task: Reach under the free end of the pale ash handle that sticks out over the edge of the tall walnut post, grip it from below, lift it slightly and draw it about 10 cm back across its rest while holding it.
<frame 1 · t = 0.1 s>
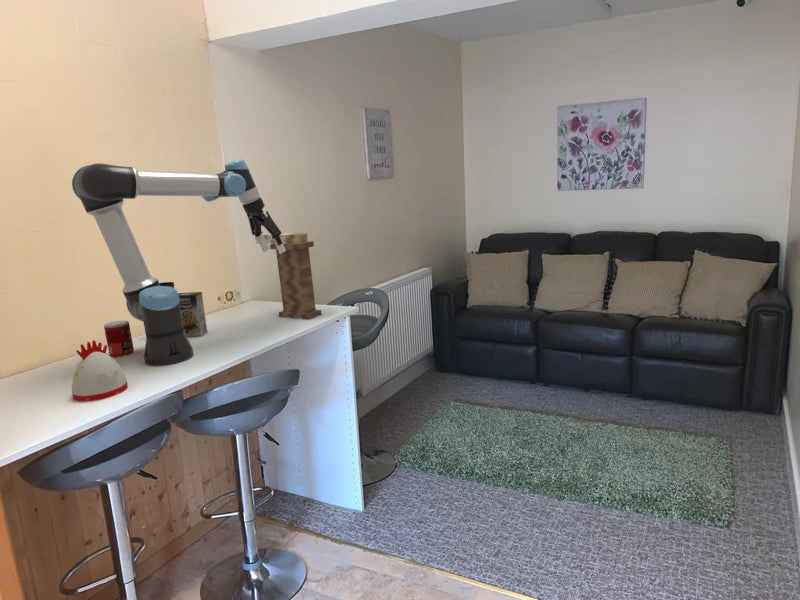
hand: (274, 251, 226), 28 cm above the table, tool tilted 20°, fingers open, 13 cm apart
pedestal: (300, 315, 239), on the table
coffee box: (193, 335, 221), on the table
kitchen timer: (101, 392, 165), on the table
handle: (280, 242, 235), point 30 cm above the table, touching pedestal
wineglass: (170, 335, 224), on the table
canned food: (122, 354, 203), on the table
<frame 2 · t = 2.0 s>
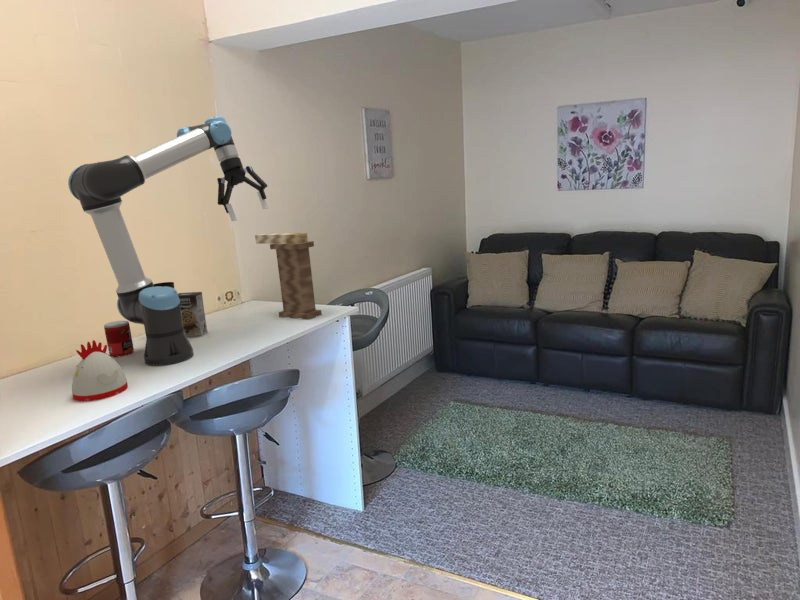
hand: (249, 214, 217), 43 cm above the table, tool tilted 15°, fingers open, 13 cm apart
nothing on the table moved.
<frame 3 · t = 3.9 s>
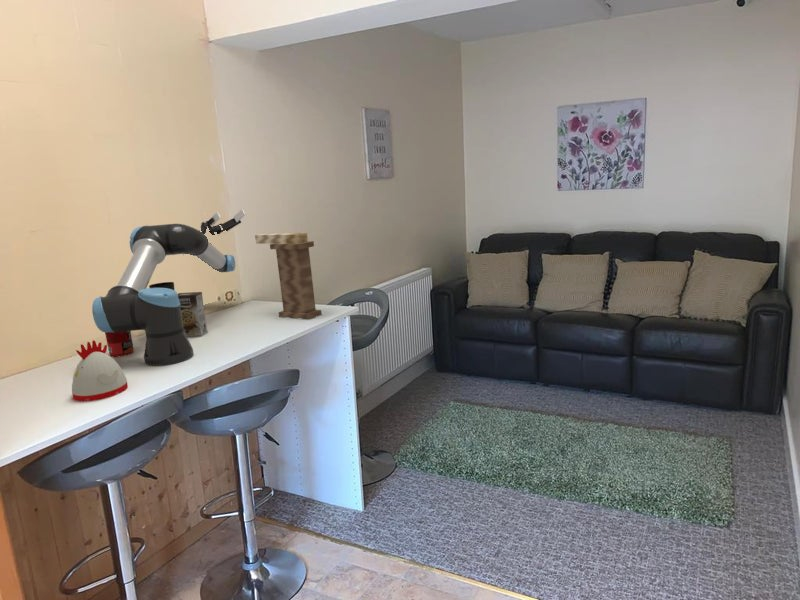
hand: (231, 213, 248), 43 cm above the table, tool pointing upward, fingers open, 13 cm apart
nothing on the table moved.
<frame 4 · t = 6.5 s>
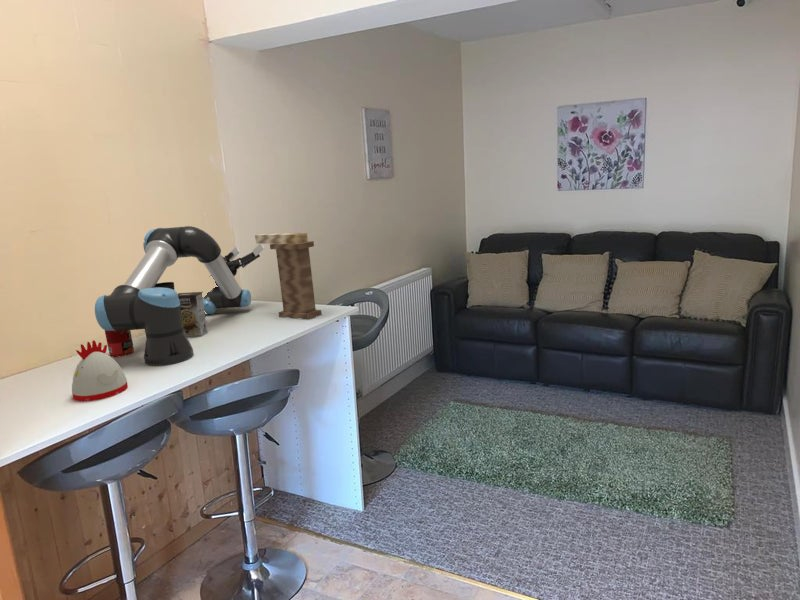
hand: (250, 247, 245), 28 cm above the table, tool pointing upward, fingers open, 13 cm apart
nothing on the table moved.
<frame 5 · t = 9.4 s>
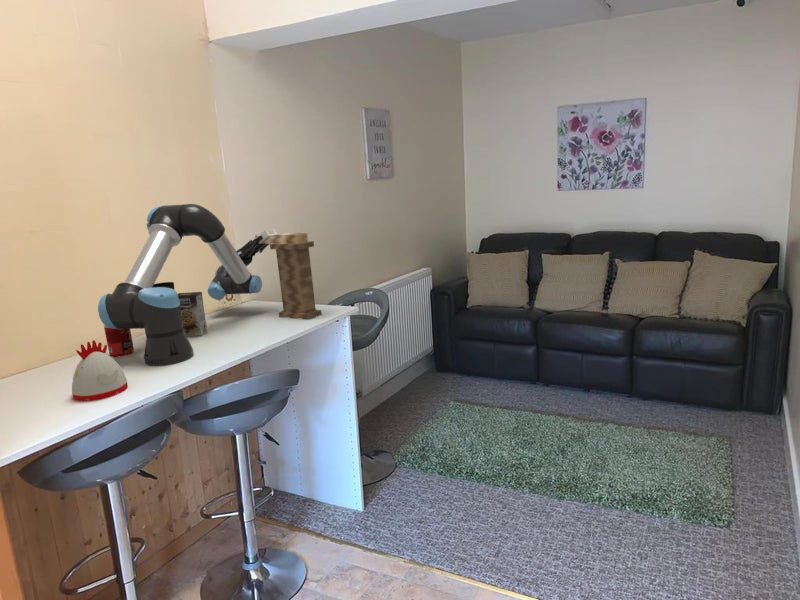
hand: (271, 232, 237), 34 cm above the table, tool pointing upward, fingers closed on handle, 3 cm apart
handle: (280, 242, 235), point 30 cm above the table, touching gripper, pedestal
everything else where it was.
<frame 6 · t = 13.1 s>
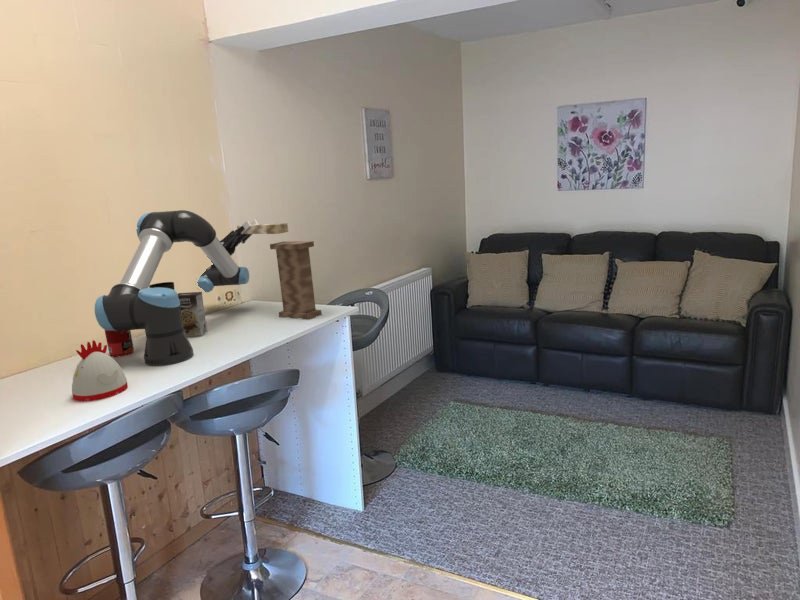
hand: (252, 222, 241), 38 cm above the table, tool pointing upward, fingers closed on handle, 3 cm apart
handle: (261, 233, 240), point 34 cm above the table, touching gripper
everything else where it was.
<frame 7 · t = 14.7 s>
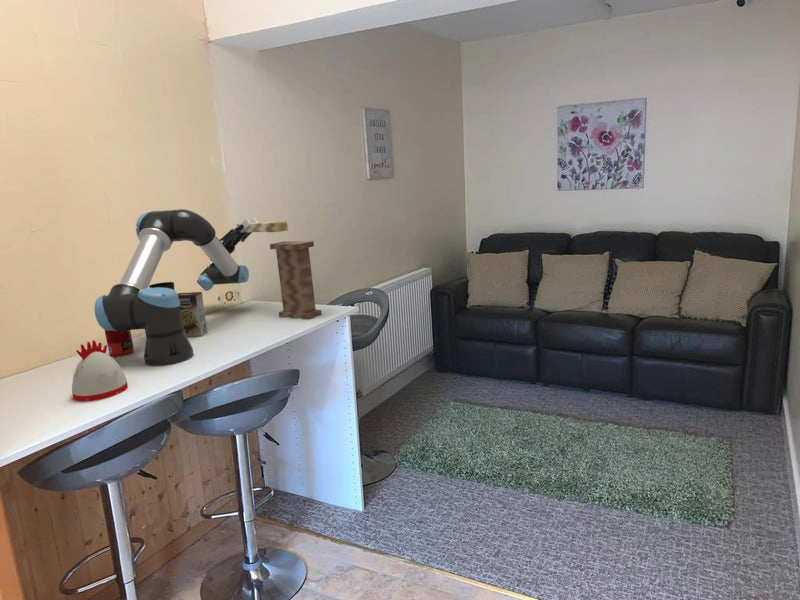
hand: (252, 221, 241), 39 cm above the table, tool pointing upward, fingers closed on handle, 3 cm apart
handle: (261, 231, 240), point 35 cm above the table, touching gripper
everything else where it was.
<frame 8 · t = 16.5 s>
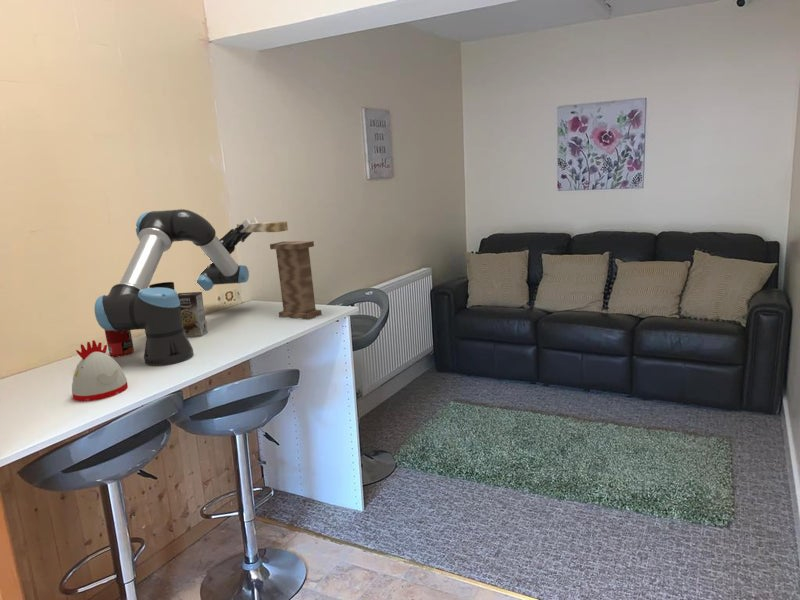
hand: (252, 221, 241), 39 cm above the table, tool pointing upward, fingers closed on handle, 3 cm apart
handle: (261, 231, 240), point 35 cm above the table, touching gripper
everything else where it was.
at the end: the gripper is holding handle; handle moved 11.0 cm from its start; handle point 34.7 cm above the table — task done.
